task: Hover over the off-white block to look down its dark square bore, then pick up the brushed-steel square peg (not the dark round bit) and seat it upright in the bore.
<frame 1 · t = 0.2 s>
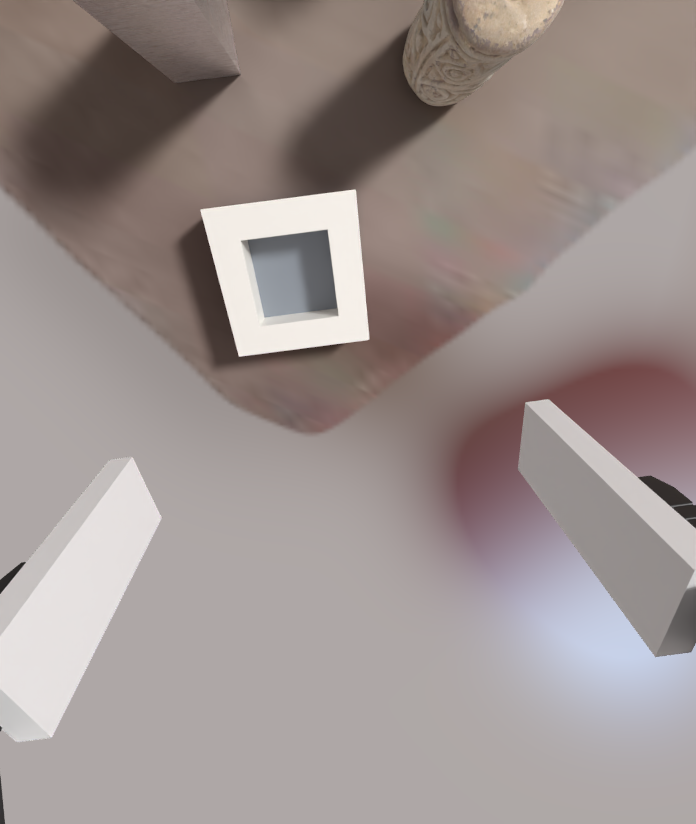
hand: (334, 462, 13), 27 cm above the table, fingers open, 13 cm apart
square peg: (198, 34, 28), on the table
carving: (444, 57, 30), on the table
bore block: (295, 272, 36), on the table
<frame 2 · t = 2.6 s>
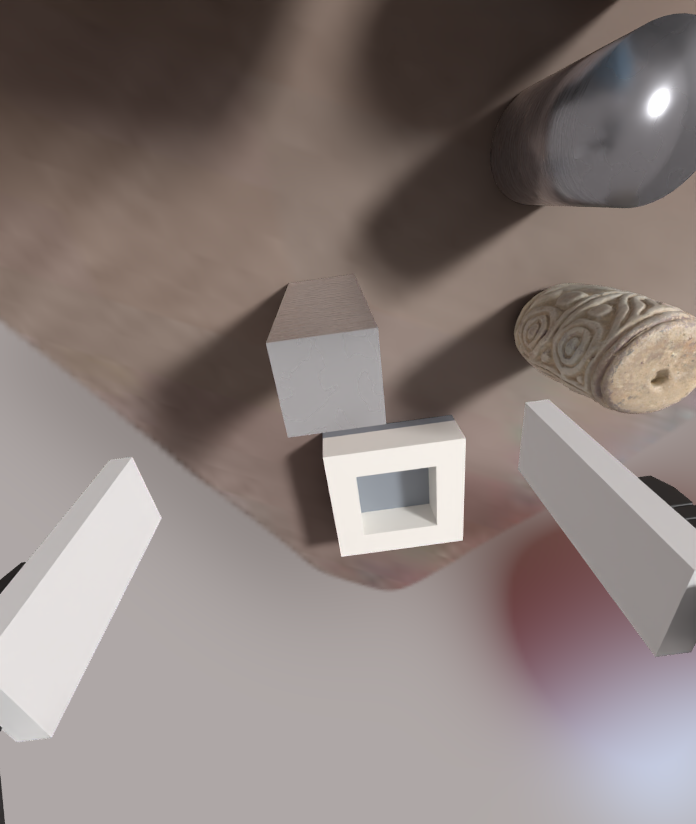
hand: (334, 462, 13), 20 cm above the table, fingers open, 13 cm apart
square peg: (326, 311, 31), on the table
carving: (547, 316, 32), on the table
round bit: (541, 146, 26), on the table
bore block: (391, 474, 39), on the table
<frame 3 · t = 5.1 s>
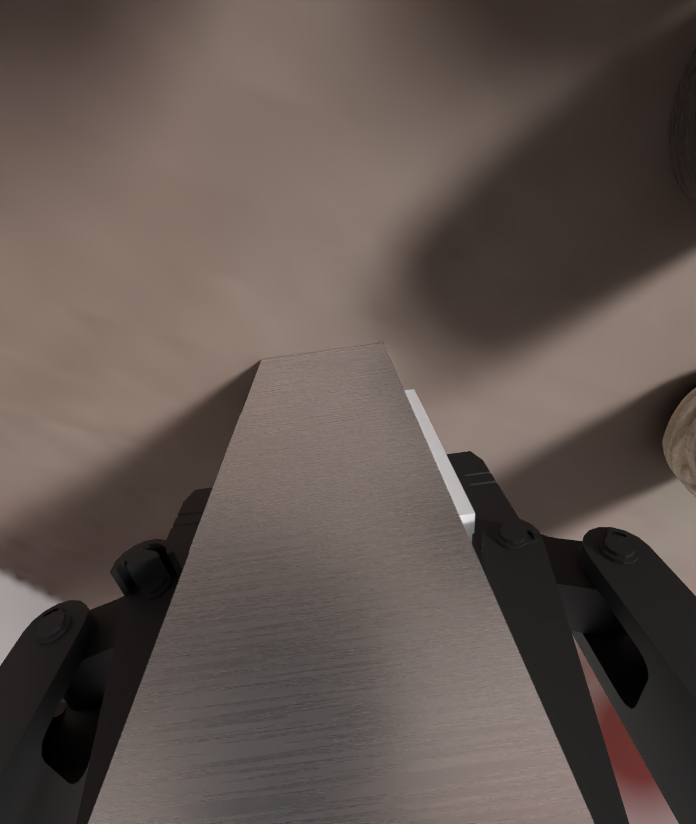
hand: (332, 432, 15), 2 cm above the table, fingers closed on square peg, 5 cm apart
square peg: (331, 405, 17), on the table, touching gripper
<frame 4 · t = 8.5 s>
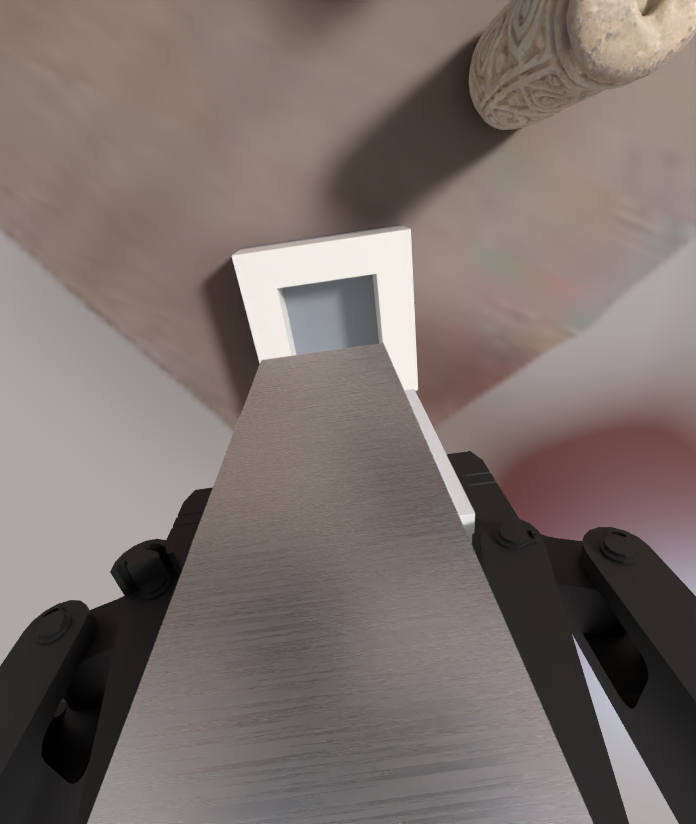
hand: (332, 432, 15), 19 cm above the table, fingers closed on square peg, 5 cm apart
square peg: (331, 405, 17), point 17 cm above the table, touching gripper
carving: (513, 71, 25), on the table
bore block: (332, 314, 32), on the table
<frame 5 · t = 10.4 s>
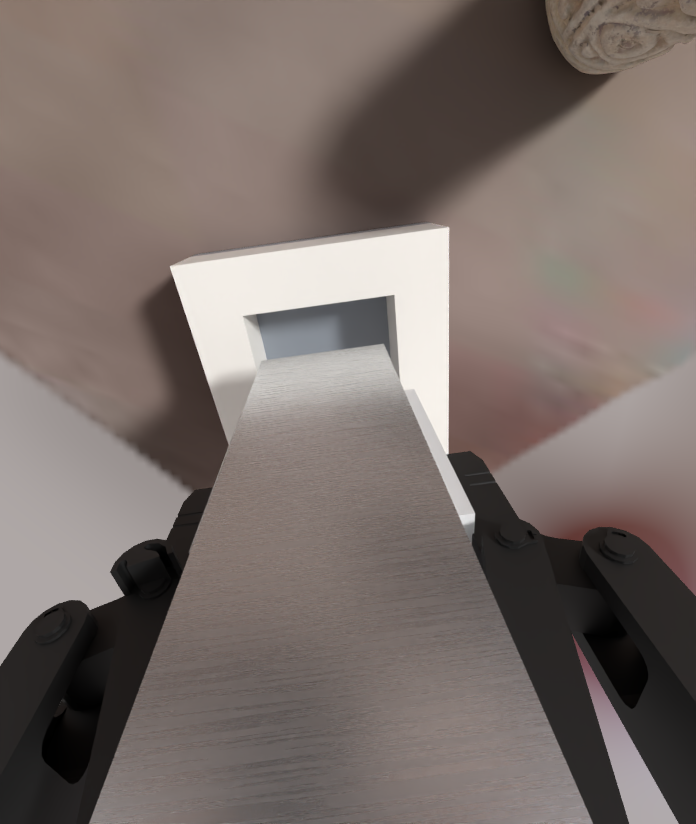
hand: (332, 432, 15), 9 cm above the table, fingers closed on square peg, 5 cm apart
square peg: (331, 406, 17), point 7 cm above the table, touching gripper
bore block: (328, 348, 23), on the table
when the fingers open (5 cm above the table, at t = 11.9 s): square peg drops 2 cm, resting on bore block.
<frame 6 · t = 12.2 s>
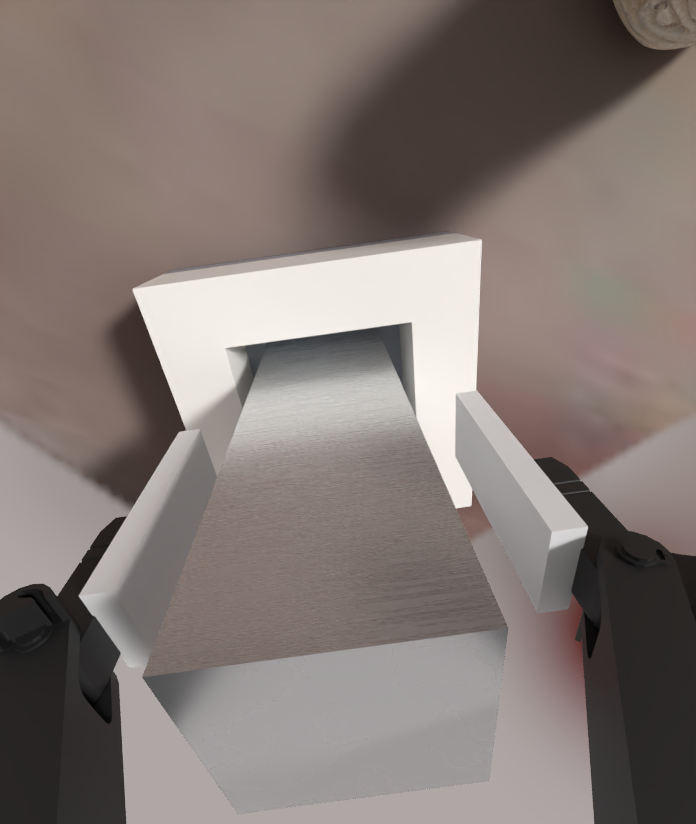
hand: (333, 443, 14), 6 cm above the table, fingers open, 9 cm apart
square peg: (330, 385, 19), point 1 cm above the table, touching bore block
bore block: (329, 377, 20), on the table
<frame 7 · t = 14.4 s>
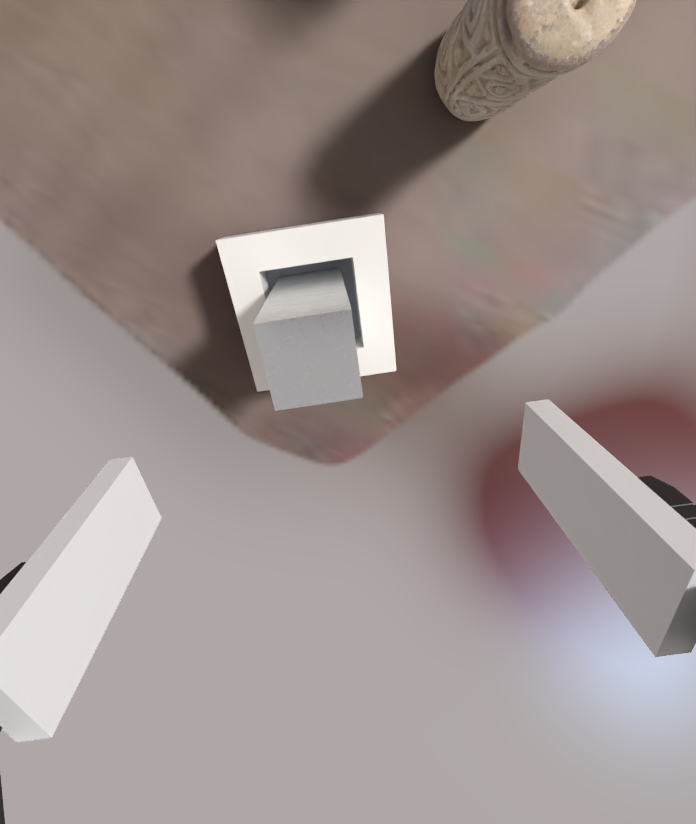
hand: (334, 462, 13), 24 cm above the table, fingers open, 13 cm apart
square peg: (314, 302, 33), point 1 cm above the table, touching bore block
carving: (477, 67, 27), on the table
bore block: (315, 300, 34), on the table
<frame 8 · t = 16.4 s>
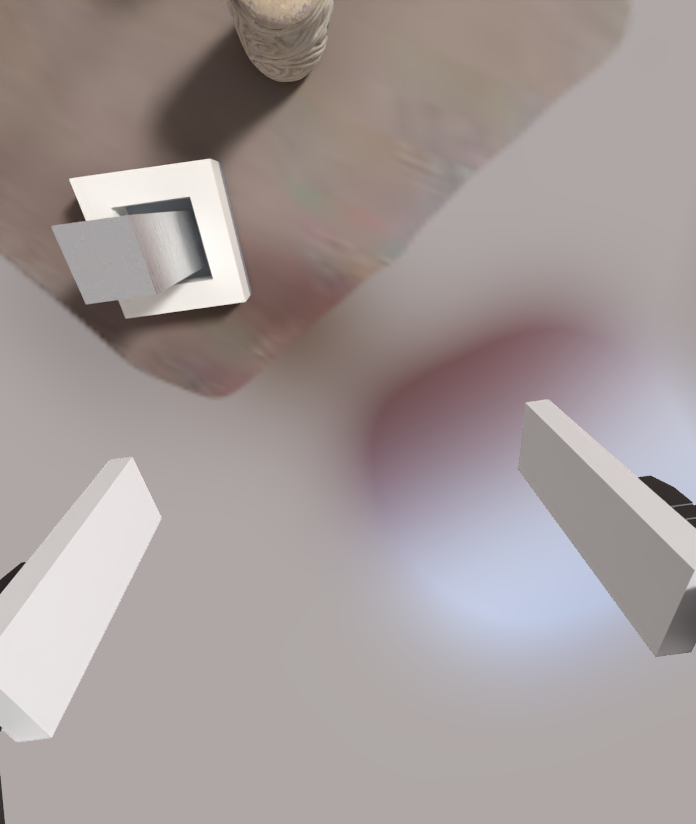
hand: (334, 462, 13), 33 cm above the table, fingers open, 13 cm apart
square peg: (174, 241, 38), point 1 cm above the table, touching bore block
carving: (288, 36, 33), on the table
bore block: (178, 241, 39), on the table
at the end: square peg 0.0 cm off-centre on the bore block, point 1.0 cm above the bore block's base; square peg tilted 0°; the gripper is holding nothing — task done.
